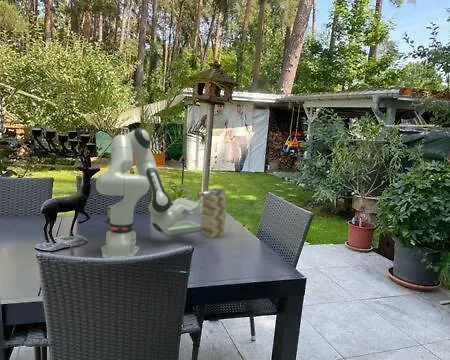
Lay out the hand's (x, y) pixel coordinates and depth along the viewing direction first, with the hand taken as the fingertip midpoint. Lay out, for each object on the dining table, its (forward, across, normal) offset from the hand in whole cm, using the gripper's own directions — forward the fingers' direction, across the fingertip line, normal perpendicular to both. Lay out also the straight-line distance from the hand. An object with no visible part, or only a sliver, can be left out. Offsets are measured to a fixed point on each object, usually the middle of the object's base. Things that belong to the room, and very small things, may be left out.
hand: (196, 198), depth 214 cm
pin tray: (-12, +16, +20) cm, 29 cm away
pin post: (0, 0, +28) cm, 28 cm away
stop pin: (+9, 0, +4) cm, 10 cm away
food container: (-36, +47, +7) cm, 60 cm away
